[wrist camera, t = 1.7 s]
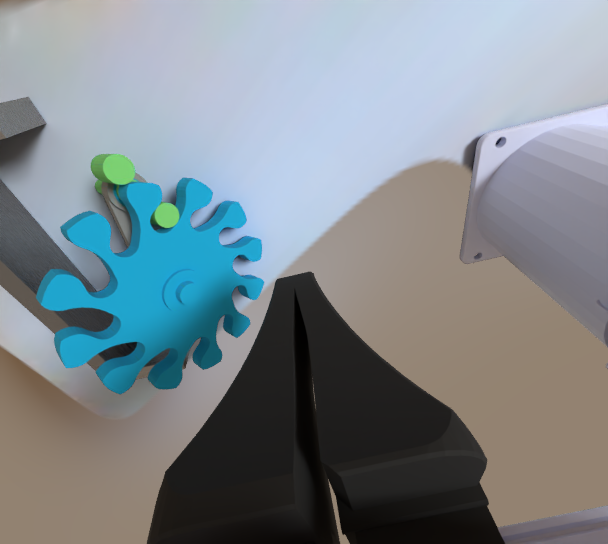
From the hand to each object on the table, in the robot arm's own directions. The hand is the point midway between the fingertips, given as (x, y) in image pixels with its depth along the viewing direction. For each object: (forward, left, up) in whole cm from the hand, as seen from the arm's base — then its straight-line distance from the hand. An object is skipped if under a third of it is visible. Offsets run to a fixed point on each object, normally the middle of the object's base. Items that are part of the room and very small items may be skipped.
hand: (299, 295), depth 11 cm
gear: (+6, 0, -7) cm, 9 cm away
